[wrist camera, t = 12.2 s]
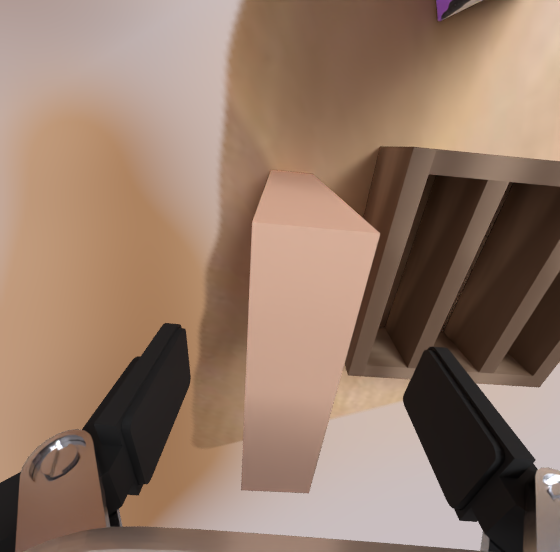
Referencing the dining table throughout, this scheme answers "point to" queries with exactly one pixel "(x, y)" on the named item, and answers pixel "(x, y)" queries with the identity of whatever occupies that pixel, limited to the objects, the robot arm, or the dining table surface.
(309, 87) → the dining table surface
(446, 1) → the candy box
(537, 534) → the robot arm
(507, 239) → the slotted box
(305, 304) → the pink block
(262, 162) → the dining table surface
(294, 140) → the dining table surface
